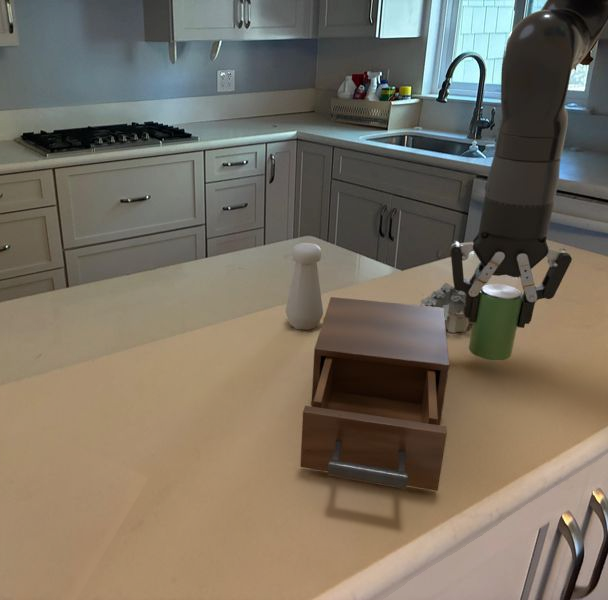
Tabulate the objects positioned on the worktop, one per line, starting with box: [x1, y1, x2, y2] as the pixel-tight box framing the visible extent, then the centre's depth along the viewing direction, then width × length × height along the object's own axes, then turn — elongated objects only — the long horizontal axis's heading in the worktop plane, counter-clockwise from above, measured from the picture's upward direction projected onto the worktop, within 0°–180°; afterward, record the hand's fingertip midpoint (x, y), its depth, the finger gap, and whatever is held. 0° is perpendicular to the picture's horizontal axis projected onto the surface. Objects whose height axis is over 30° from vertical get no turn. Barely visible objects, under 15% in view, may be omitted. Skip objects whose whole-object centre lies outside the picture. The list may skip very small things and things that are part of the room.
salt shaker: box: [285, 242, 324, 331], centre depth 94 cm, size 6×6×13 cm
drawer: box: [299, 356, 448, 492], centre depth 64 cm, size 19×13×7 cm
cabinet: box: [310, 296, 450, 425], centre depth 77 cm, size 16×15×9 cm
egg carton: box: [420, 282, 473, 334], centre depth 96 cm, size 11×8×4 cm
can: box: [468, 283, 523, 362], centre depth 80 cm, size 5×5×9 cm
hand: (495, 322), depth 80 cm, fingers closed on can, 5 cm apart
